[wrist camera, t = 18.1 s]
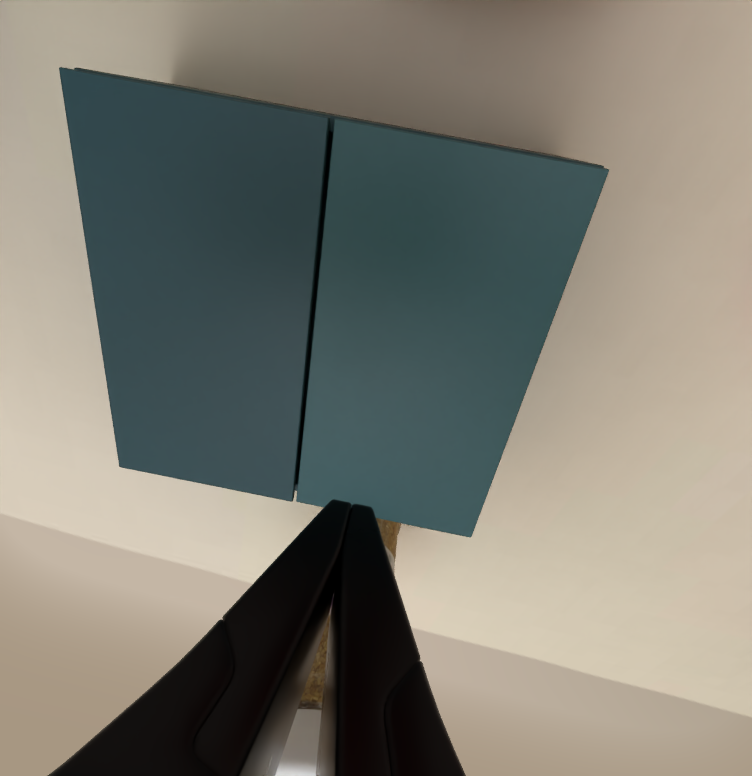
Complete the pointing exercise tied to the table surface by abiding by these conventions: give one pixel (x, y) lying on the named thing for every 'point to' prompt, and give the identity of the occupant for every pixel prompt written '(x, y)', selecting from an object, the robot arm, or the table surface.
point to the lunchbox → (205, 270)
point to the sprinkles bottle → (319, 692)
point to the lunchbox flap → (431, 316)
